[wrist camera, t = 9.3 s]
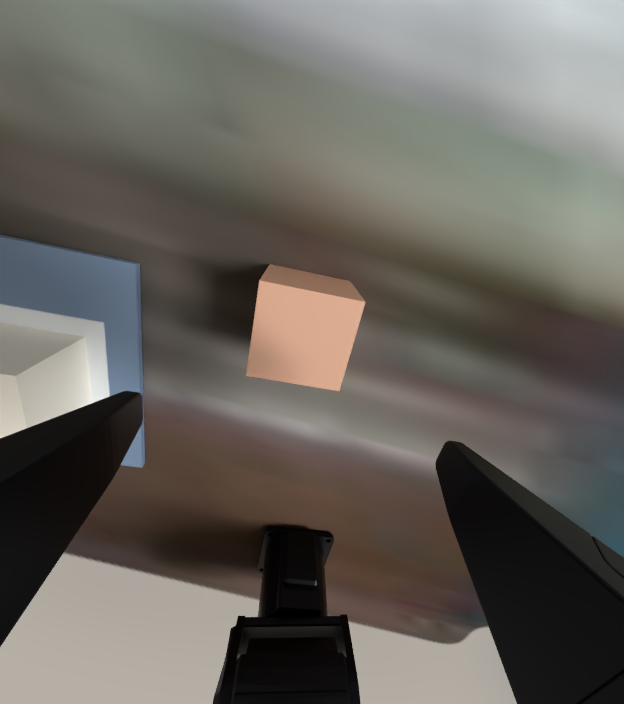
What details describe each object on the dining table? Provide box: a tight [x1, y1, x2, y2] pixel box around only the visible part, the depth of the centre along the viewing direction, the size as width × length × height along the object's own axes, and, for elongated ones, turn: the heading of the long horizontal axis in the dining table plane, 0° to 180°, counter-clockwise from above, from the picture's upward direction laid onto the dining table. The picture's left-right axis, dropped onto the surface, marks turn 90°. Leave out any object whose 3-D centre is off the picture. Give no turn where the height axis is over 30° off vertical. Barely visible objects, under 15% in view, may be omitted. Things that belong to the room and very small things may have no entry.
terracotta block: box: [246, 264, 365, 391], centre depth 17 cm, size 5×5×5 cm
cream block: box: [0, 322, 92, 438], centre depth 17 cm, size 6×6×5 cm
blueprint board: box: [0, 235, 145, 468], centre depth 20 cm, size 16×12×1 cm
